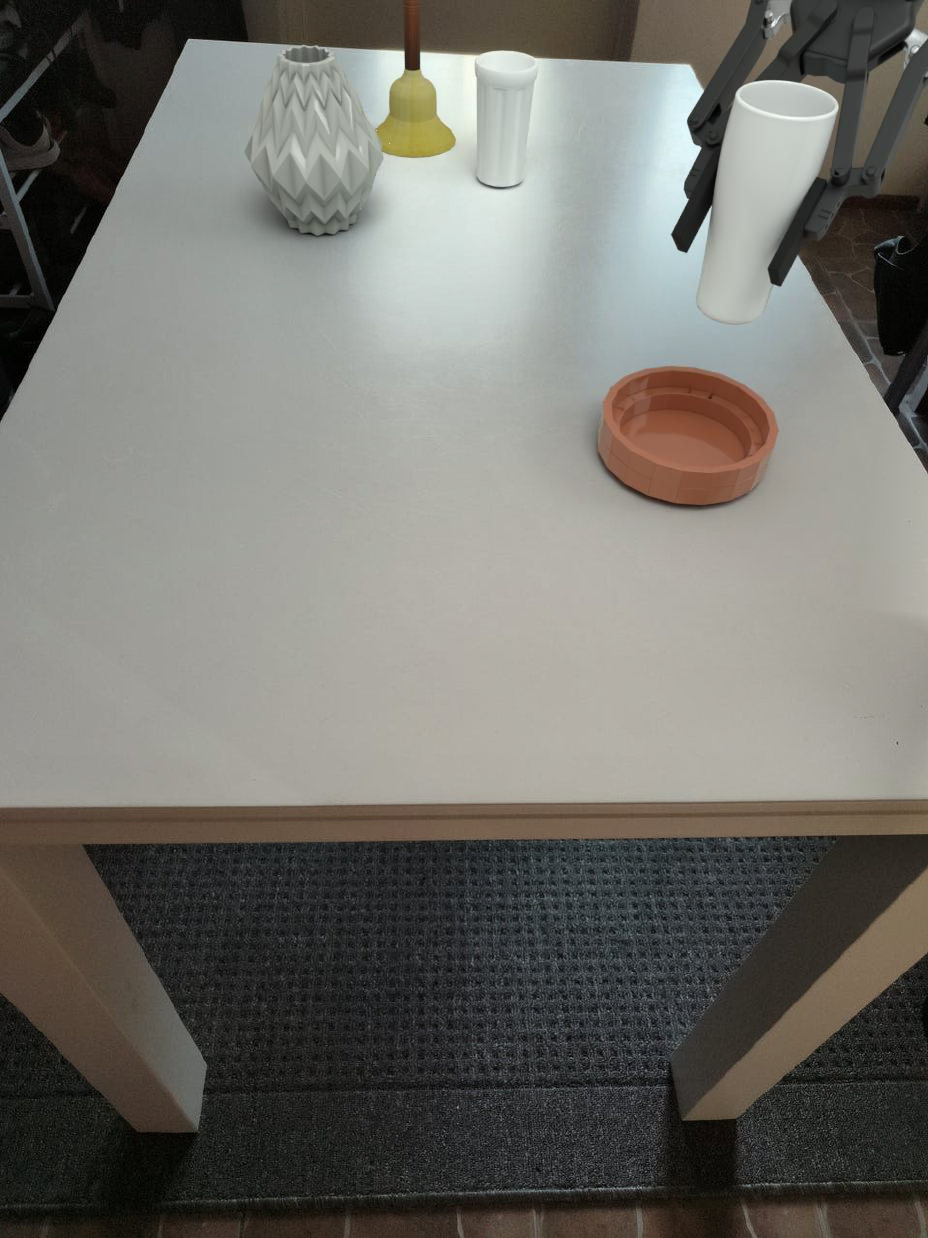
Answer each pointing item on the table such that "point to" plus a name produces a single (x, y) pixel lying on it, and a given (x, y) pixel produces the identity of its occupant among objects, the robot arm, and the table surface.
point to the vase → (313, 142)
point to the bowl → (686, 434)
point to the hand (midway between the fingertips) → (725, 259)
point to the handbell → (413, 102)
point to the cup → (503, 114)
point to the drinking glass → (760, 191)
